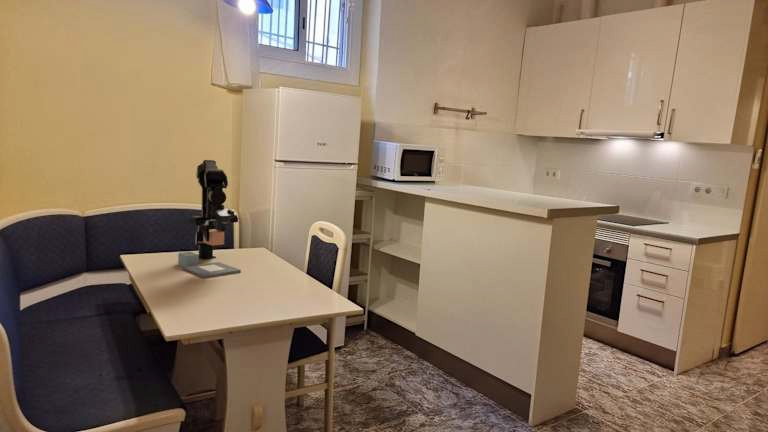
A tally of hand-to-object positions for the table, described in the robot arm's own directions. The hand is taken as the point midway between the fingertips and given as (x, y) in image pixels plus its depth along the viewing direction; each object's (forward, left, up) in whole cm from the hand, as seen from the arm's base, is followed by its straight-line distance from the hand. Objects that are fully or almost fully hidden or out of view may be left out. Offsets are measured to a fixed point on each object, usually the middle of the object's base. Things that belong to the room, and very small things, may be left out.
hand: (213, 240), depth 203 cm
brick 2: (0, 0, -1) cm, 1 cm away
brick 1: (-13, -3, -12) cm, 18 cm away
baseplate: (0, 0, -12) cm, 12 cm away
